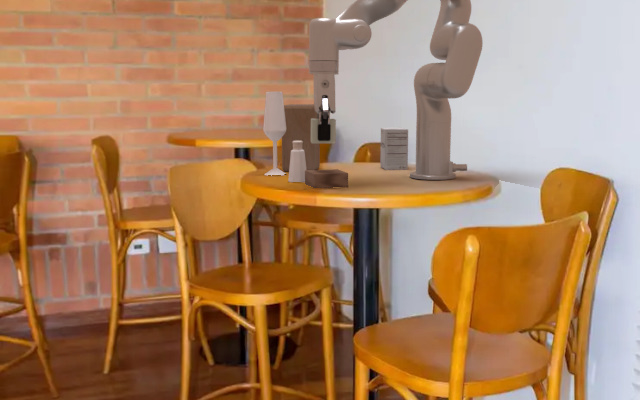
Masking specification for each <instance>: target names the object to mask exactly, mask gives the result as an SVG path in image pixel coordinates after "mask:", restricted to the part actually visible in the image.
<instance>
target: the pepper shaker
mask: <svg viewBox="0 0 640 400" xmlns="http://www.w3.org/2000/svg"><path fill="white" fill-rule="evenodd" d="M292 143H293V150H291V156H290V167H289V171H288V182H289V183H293V182H302V183H305V170H306V161H305V152H304V150H302V147H303V146H302V144H303V141H293V142H292Z"/></svg>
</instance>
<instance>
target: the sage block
mask: <svg viewBox="0 0 640 400" xmlns="http://www.w3.org/2000/svg"><path fill="white" fill-rule="evenodd" d="M336 121H337V119H335V118H330V125H331V136H330V141H318V125H319V119H311V143H320V144H333V145H334V144H336V139H337V137H336V134H337V133H336V132H337V129H336V127H337V122H336Z"/></svg>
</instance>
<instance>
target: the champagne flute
mask: <svg viewBox="0 0 640 400" xmlns="http://www.w3.org/2000/svg"><path fill="white" fill-rule="evenodd" d="M284 105H285V104H284V94H283V91H266V92H265V101H264V114H263V128H262V131H263V133H264V134H265V137H267V138H268V139H269V140H270V141H272V157H273V159H272V160H273V161H272V163H273V164H272V165H273V166H272V168H271V169H270V170H268V171H267V172H266V173H264V176H268V175H271V177H273V176H272V175H281V176H285V175H284V174H287V173H286V172H285V171H283V170H282V169H280V168H278V142H279V141H280V140H282V136H283V135H284V134H285V132H286V121H285V111H284Z"/></svg>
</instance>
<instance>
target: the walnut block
mask: <svg viewBox="0 0 640 400" xmlns="http://www.w3.org/2000/svg"><path fill="white" fill-rule="evenodd" d="M305 184H306V186H307V185H308V187H309V186H311V187H313V188H324V189H334V188H333V187H346V188H349V173H348V172H346V171H343V170H342V169H341V170H340V169H338V168H336V169H331V168H330V169H316V170H305V182H304V185H305ZM311 187H310V188H311ZM313 188H312V189H313Z"/></svg>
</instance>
